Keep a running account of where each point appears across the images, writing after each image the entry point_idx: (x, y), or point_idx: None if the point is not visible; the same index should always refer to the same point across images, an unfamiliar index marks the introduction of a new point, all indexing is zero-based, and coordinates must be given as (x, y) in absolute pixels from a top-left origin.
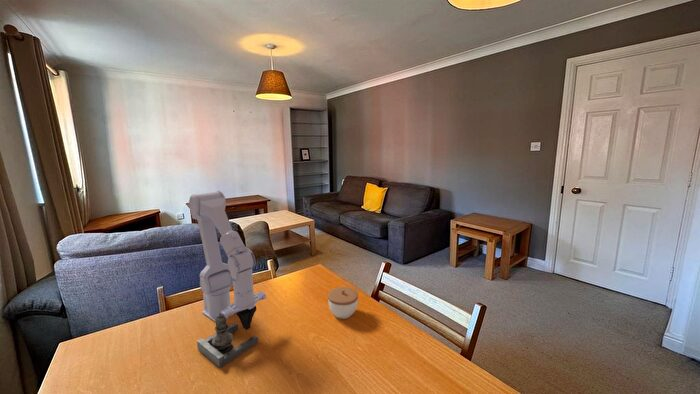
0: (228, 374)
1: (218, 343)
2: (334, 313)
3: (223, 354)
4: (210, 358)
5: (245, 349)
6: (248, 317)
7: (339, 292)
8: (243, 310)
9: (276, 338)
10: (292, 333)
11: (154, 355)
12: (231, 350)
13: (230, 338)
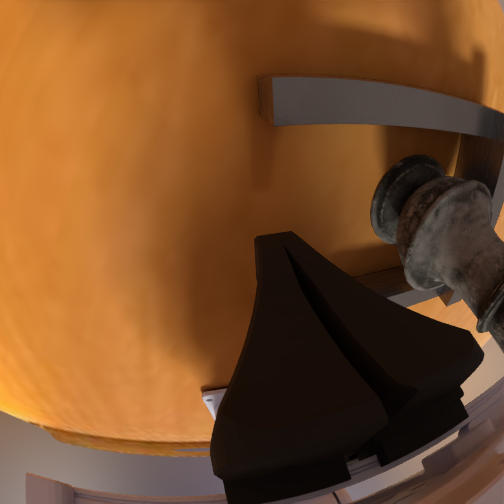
0: (480, 40)
1: (489, 216)
2: None
3: (438, 164)
4: None
5: (375, 80)
6: (343, 321)
7: None
8: (408, 428)
9: (114, 20)
10: (6, 19)
11: (464, 311)
12: (457, 127)
13: (451, 206)
